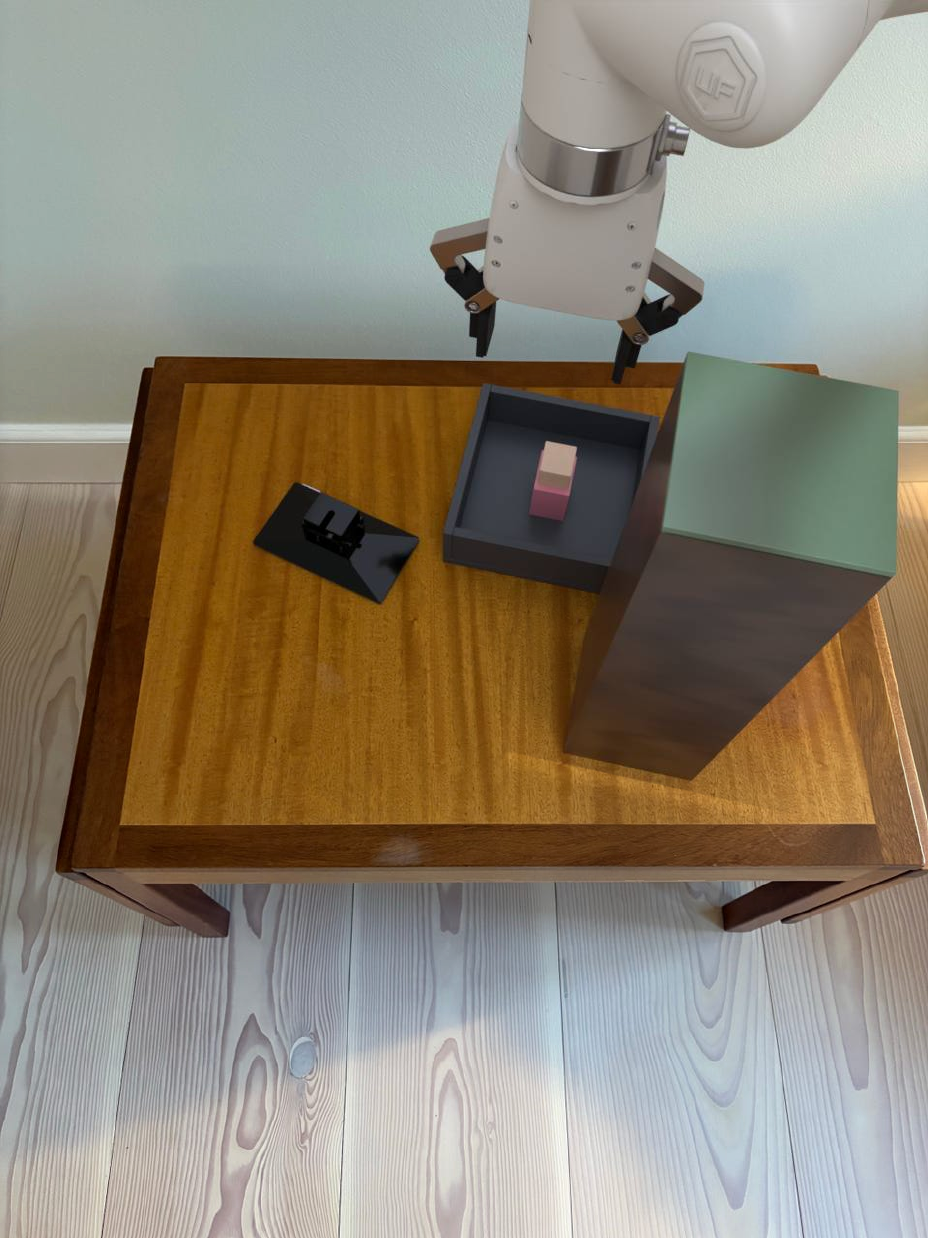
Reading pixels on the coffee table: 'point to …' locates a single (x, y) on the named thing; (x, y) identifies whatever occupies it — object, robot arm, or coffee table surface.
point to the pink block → (553, 481)
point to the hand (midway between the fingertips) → (551, 355)
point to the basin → (505, 476)
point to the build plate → (337, 542)
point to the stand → (735, 559)
